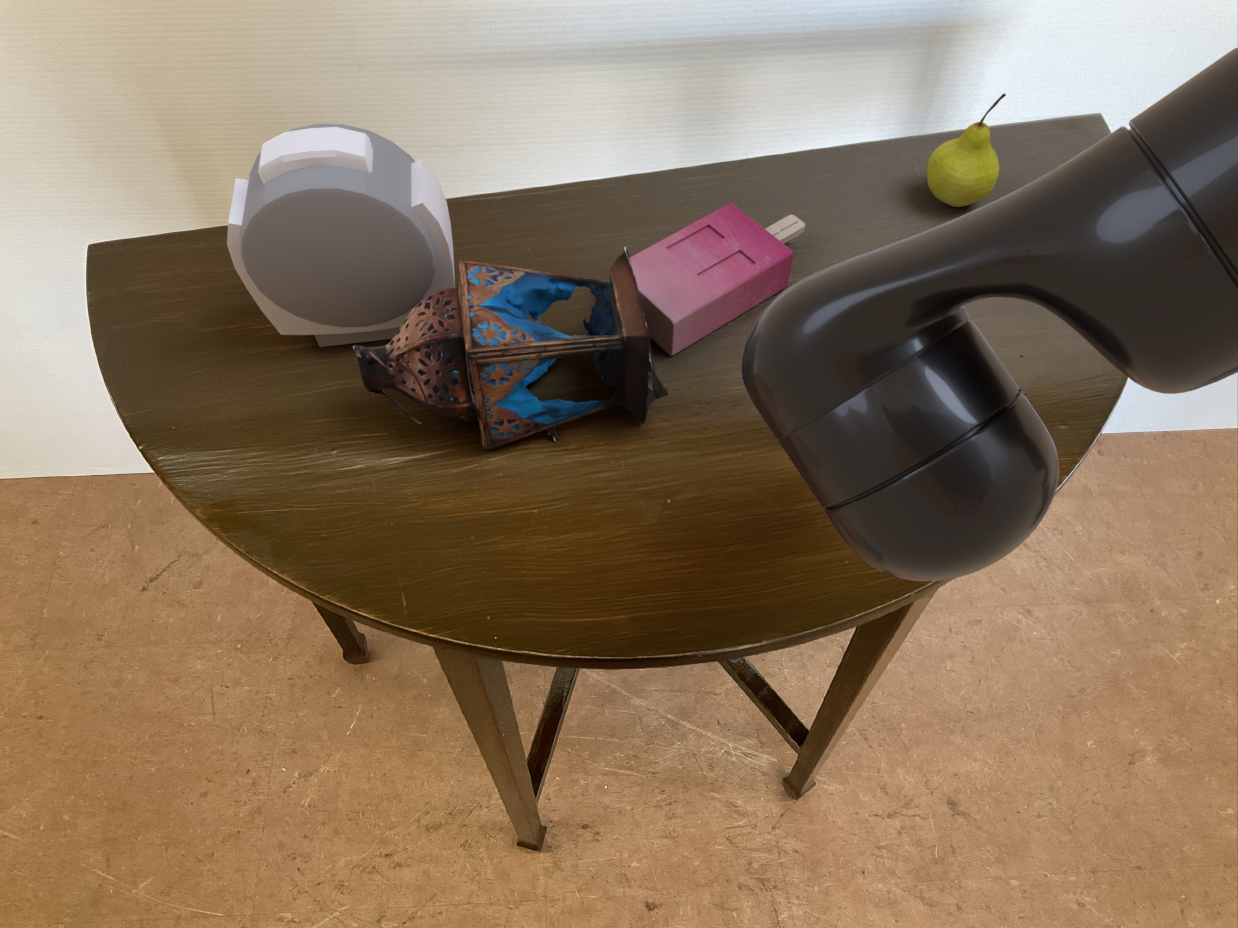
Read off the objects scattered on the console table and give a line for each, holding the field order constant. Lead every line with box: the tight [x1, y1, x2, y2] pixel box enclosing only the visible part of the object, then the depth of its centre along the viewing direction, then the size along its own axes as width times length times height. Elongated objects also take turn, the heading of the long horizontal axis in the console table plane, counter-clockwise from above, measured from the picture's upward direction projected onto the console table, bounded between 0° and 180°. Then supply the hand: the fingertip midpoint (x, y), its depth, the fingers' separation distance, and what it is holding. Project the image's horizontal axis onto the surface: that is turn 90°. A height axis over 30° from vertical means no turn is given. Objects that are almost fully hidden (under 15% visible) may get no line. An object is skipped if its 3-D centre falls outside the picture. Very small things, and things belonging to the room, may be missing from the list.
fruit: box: [926, 92, 1007, 208], centre depth 86 cm, size 7×7×12 cm
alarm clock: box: [226, 123, 456, 348], centre depth 75 cm, size 18×8×20 cm, turn 98°
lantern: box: [352, 246, 669, 452], centre depth 73 cm, size 16×16×25 cm
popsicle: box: [629, 202, 806, 357], centre depth 83 cm, size 9×5×20 cm
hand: (898, 370), depth 58 cm, fingers closed on can, 6 cm apart
